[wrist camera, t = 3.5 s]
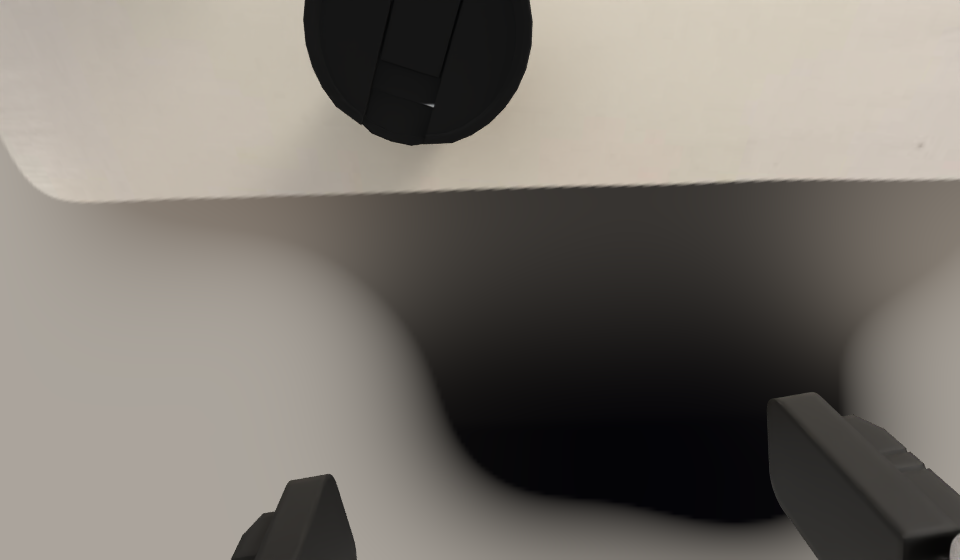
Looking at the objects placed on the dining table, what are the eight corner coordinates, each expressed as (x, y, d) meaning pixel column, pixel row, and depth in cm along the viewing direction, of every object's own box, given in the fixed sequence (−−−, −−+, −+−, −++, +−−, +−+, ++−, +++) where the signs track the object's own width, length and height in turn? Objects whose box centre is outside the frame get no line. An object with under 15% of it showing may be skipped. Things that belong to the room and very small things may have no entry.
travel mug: (513, 2, 35) (575, -71, 16) (477, 120, 37) (494, 182, 18) (402, -37, 34) (327, -162, 15) (372, 87, 36) (272, 113, 17)
